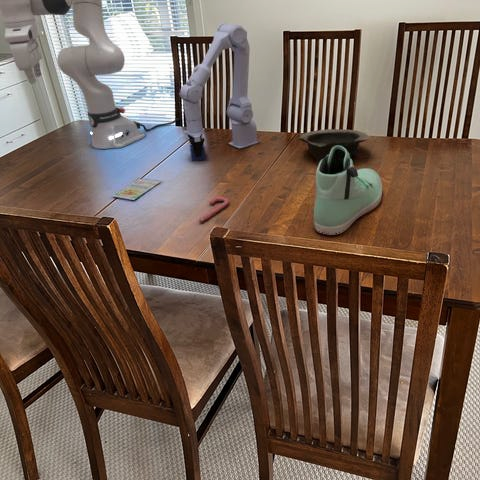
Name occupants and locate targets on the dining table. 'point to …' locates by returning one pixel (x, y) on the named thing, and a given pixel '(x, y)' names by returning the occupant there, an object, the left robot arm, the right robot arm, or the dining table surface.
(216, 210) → the candy cane
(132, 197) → the baking ingredient package
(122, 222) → the dining table surface
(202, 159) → the cube
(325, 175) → the sneaker
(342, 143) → the stone bowl
